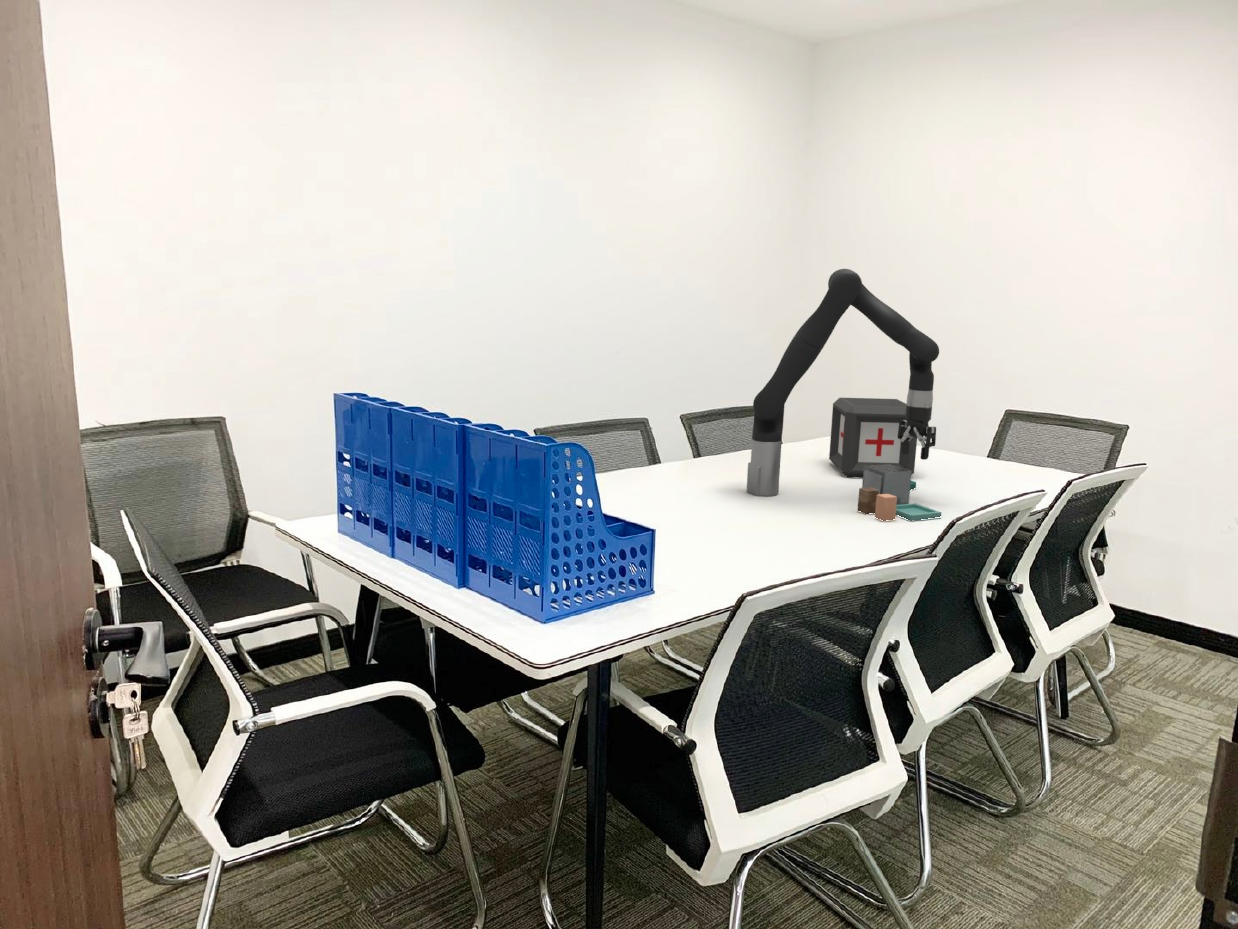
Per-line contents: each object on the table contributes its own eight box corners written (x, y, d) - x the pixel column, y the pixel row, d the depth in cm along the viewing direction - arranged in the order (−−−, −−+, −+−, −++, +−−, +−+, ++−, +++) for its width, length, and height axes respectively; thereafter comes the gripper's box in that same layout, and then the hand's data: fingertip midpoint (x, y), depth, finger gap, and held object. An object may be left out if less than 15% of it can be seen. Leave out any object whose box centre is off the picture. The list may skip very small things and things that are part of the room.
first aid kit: (915, 480, 311) (922, 408, 306) (842, 478, 311) (847, 406, 306) (895, 465, 335) (901, 398, 330) (827, 463, 336) (832, 396, 330)
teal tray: (910, 521, 258) (911, 515, 258) (885, 511, 268) (886, 506, 268) (940, 518, 263) (941, 512, 262) (914, 508, 273) (915, 503, 272)
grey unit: (880, 508, 272) (883, 473, 270) (859, 500, 281) (862, 466, 279) (910, 505, 276) (913, 470, 274) (888, 498, 285) (891, 464, 283)
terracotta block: (883, 521, 258) (885, 497, 256) (874, 518, 261) (876, 494, 260) (895, 520, 259) (897, 496, 258) (885, 517, 263) (887, 493, 262)
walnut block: (865, 514, 265) (867, 491, 264) (857, 511, 269) (859, 488, 267) (877, 513, 267) (878, 490, 265) (868, 510, 270) (870, 487, 269)
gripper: (893, 401, 281) (889, 452, 284) (925, 408, 268) (920, 462, 272) (913, 400, 284) (908, 451, 287) (945, 407, 271) (940, 460, 274)
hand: (914, 456), depth 279 cm, fingers open, 8 cm apart
